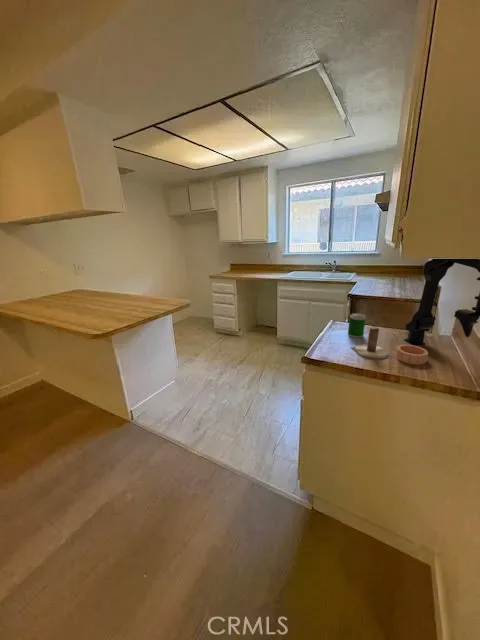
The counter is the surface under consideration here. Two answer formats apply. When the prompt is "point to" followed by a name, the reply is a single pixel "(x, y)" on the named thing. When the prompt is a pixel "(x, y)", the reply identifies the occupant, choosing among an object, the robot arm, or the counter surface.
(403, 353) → the bowl
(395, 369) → the counter surface
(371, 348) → the lid
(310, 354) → the counter surface
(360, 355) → the mat
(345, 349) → the counter surface
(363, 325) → the soda can
